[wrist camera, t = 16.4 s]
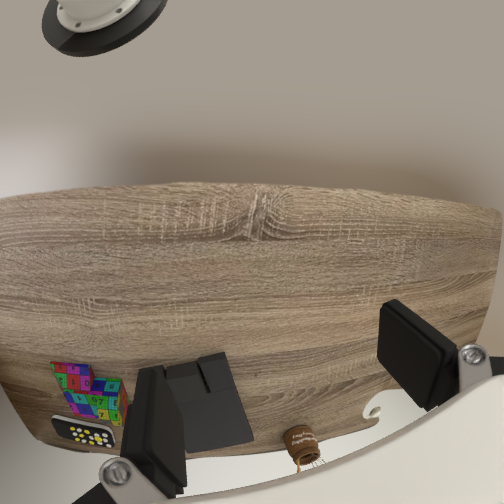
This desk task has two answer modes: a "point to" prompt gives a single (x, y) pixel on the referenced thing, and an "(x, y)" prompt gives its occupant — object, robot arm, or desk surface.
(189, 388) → the small black box
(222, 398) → the big pad
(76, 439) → the remote control
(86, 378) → the block
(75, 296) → the desk surface
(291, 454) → the utensil holder
